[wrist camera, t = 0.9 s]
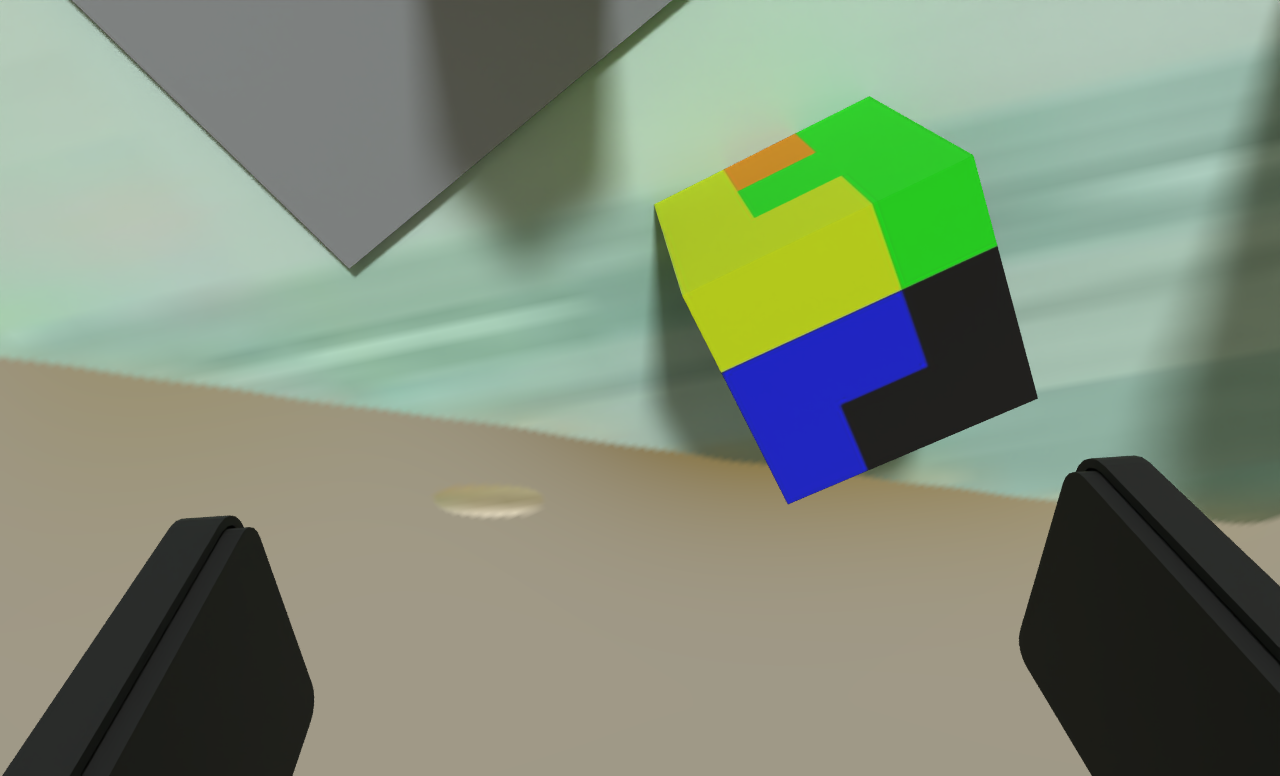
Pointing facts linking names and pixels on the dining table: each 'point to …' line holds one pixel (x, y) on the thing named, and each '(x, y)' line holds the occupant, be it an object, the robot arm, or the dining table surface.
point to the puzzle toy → (850, 294)
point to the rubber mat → (364, 89)
